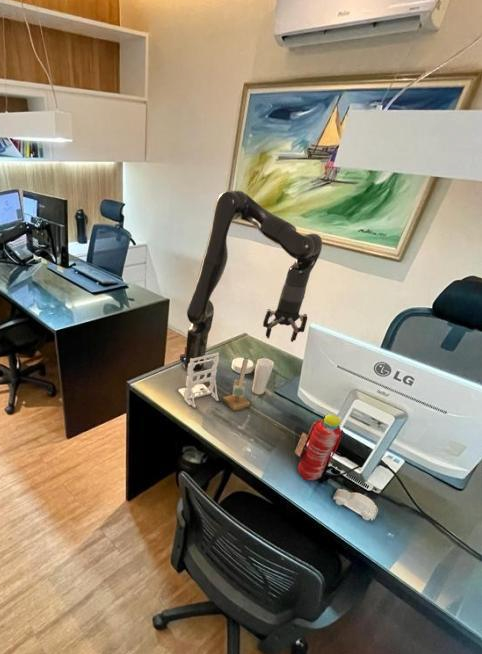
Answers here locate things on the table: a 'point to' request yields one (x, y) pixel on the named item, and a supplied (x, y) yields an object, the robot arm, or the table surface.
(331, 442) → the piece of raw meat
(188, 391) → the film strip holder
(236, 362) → the white ribbed cylinder
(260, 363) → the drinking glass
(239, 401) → the stand
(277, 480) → the table surface
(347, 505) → the car
